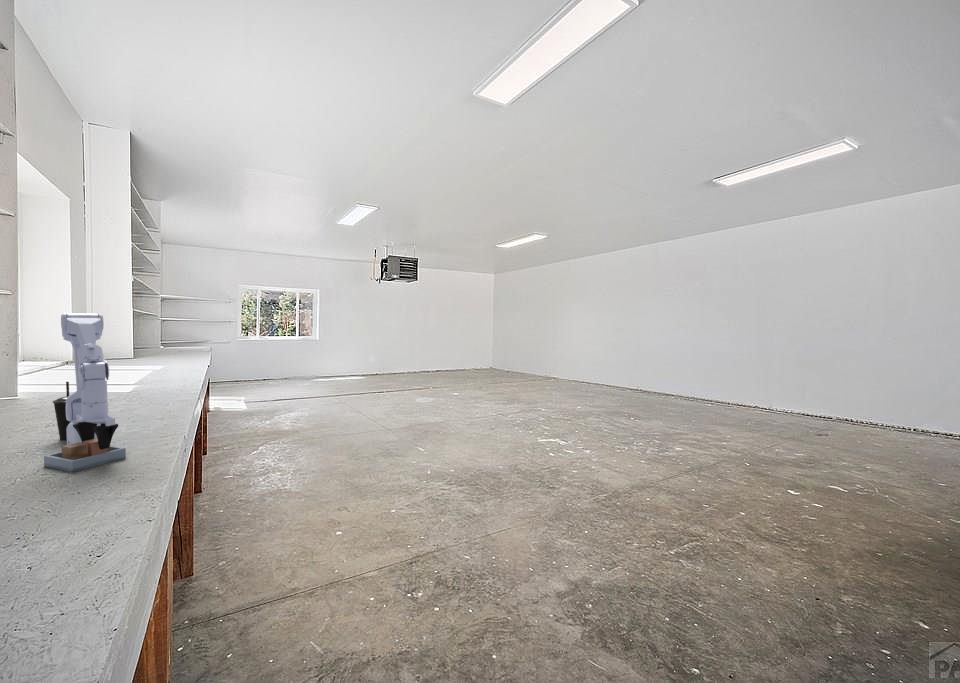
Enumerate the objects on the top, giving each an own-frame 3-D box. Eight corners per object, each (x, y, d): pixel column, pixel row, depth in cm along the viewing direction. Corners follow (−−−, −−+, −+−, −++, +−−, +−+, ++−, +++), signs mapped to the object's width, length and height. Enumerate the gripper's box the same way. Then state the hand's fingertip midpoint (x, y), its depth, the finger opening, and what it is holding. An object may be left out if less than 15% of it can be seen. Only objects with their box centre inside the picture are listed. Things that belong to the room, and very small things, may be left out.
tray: (44, 466, 120) (43, 455, 120) (98, 452, 132) (97, 443, 132) (72, 472, 116) (72, 461, 116) (125, 457, 128) (125, 448, 128)
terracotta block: (99, 453, 129) (98, 437, 129) (108, 455, 128) (107, 439, 127) (83, 457, 125) (83, 441, 125) (92, 459, 124) (91, 442, 124)
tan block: (79, 458, 124) (78, 442, 124) (88, 460, 123) (87, 443, 123) (62, 463, 120) (61, 446, 120) (71, 465, 119) (70, 447, 119)
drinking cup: (65, 442, 143) (63, 383, 142) (48, 440, 145) (45, 382, 144) (90, 436, 151) (88, 380, 150) (73, 434, 152) (71, 379, 151)
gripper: (62, 402, 124) (64, 448, 125) (94, 406, 120) (96, 453, 120) (91, 398, 131) (93, 441, 132) (122, 402, 126) (123, 446, 127)
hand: (96, 447), depth 126 cm, fingers open, 7 cm apart
